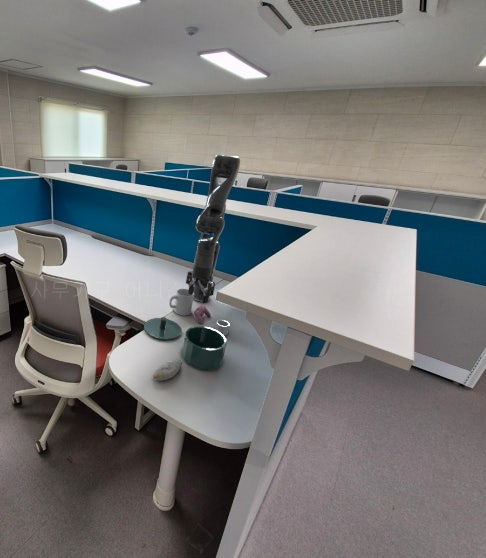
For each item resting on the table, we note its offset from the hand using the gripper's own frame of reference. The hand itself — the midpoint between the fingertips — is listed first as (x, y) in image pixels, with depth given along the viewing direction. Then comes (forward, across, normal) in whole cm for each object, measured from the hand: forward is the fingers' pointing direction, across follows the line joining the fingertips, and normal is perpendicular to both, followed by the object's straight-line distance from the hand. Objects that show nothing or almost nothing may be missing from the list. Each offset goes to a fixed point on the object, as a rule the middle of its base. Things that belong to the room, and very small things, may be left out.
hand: (197, 298), depth 131 cm
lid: (+16, +6, +12) cm, 21 cm away
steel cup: (+17, -7, -12) cm, 22 cm away
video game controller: (+17, +6, -12) cm, 22 cm away
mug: (+17, +16, -6) cm, 24 cm away
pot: (+17, -16, +9) cm, 25 cm away
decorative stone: (+17, -17, +27) cm, 37 cm away
